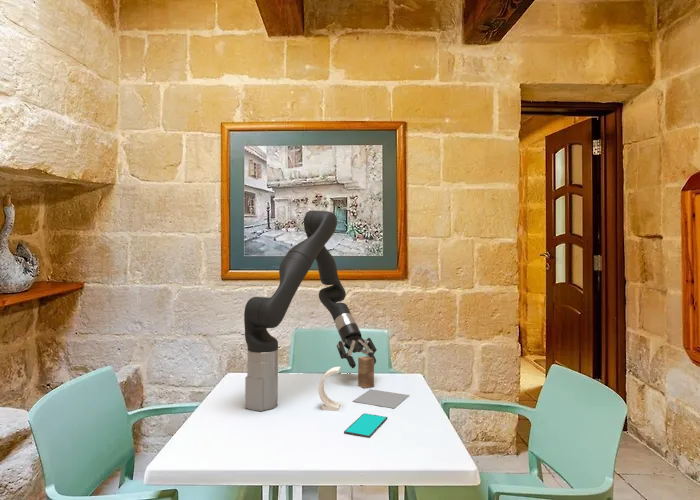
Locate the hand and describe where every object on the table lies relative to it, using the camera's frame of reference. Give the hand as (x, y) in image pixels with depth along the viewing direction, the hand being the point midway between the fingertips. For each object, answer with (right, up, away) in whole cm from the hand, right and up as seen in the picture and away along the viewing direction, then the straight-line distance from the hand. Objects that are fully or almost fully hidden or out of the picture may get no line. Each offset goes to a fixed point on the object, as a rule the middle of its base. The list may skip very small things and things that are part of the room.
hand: (364, 365), depth 163 cm
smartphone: (-1, -8, -37) cm, 38 cm away
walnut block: (0, -7, -1) cm, 7 cm away
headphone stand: (-11, -7, -23) cm, 27 cm away
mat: (+5, -7, -14) cm, 17 cm away
